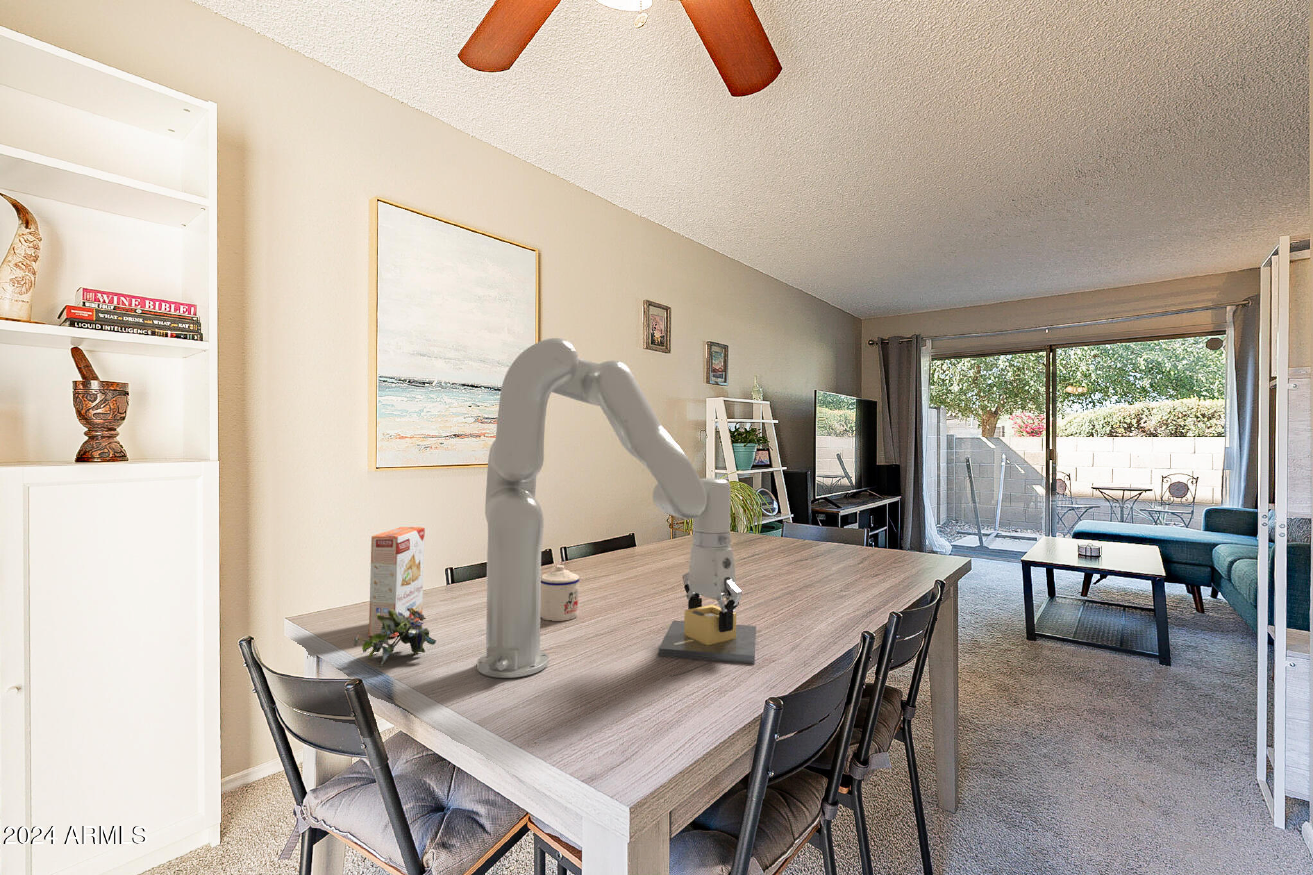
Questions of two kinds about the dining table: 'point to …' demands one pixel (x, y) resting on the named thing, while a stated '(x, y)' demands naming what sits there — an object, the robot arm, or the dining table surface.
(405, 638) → the passion flower
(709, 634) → the collar
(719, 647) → the post plate
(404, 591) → the cracker box
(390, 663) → the dining table surface
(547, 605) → the teacup with lid
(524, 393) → the robot arm
